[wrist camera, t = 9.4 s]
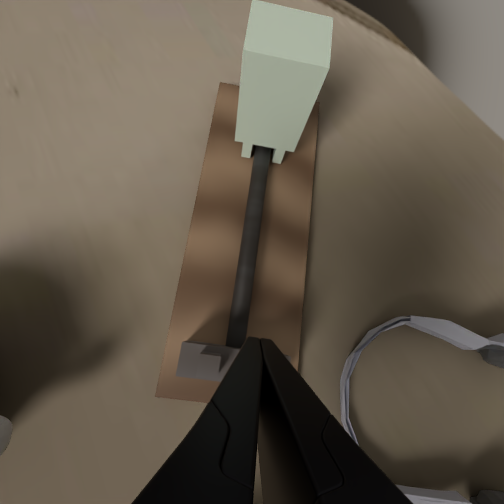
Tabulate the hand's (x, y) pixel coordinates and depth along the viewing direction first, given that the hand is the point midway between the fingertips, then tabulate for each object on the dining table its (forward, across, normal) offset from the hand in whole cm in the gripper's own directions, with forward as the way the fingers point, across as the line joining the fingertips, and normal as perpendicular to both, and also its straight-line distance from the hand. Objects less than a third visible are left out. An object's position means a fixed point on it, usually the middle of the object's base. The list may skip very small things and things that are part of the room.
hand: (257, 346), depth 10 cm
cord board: (+16, 0, -3) cm, 16 cm away
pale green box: (+21, 0, +4) cm, 21 cm away
